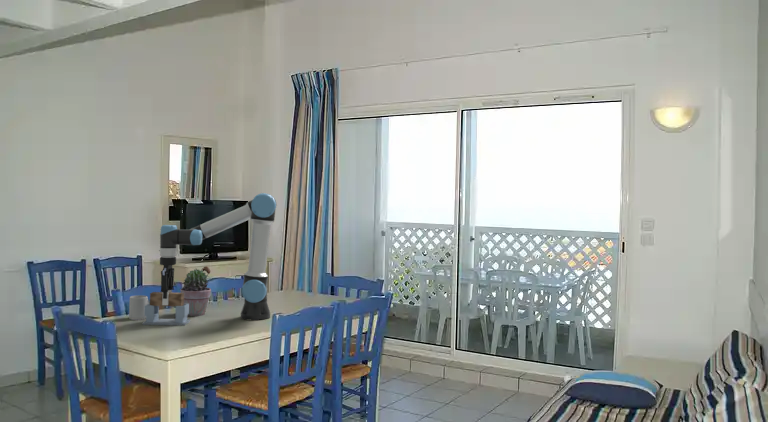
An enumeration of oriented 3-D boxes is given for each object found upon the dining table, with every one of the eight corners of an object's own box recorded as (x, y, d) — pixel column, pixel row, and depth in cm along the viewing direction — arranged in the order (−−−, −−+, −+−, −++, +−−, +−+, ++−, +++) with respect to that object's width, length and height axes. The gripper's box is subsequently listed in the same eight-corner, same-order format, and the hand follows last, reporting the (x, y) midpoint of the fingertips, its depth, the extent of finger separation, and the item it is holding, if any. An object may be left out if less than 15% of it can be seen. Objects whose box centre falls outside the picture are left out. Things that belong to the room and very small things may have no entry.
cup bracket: (190, 321, 309) (190, 303, 309) (184, 325, 299) (184, 306, 299) (149, 320, 308) (149, 302, 308) (142, 324, 298) (142, 306, 298)
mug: (140, 320, 308) (140, 298, 308) (125, 319, 310) (125, 297, 310) (154, 316, 320) (155, 294, 320) (140, 315, 322) (140, 293, 322)
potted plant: (167, 315, 321) (168, 267, 321) (192, 310, 339) (193, 264, 339) (195, 319, 315) (196, 270, 314) (219, 313, 333) (220, 266, 332)
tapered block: (183, 304, 306) (184, 292, 306) (181, 306, 302) (181, 294, 302) (152, 304, 306) (153, 292, 305) (149, 305, 301) (150, 293, 301)
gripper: (166, 254, 312) (164, 301, 312) (154, 258, 294) (153, 307, 295) (181, 255, 312) (180, 301, 313) (170, 258, 295) (169, 307, 295)
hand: (167, 304), depth 304 cm, fingers closed on tapered block, 4 cm apart
